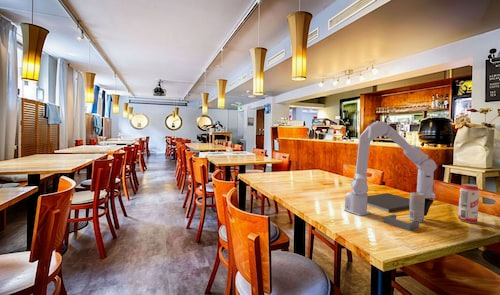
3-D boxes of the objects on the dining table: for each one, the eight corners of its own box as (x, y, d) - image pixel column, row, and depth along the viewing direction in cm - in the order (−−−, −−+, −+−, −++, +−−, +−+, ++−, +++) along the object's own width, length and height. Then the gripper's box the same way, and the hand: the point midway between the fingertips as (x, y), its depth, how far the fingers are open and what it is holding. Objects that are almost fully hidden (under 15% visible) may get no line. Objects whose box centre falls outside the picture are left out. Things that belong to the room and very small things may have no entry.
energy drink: (420, 219, 108) (422, 192, 108) (425, 223, 103) (427, 195, 103) (407, 217, 110) (408, 191, 109) (411, 222, 105) (412, 194, 104)
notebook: (388, 213, 117) (424, 206, 129) (388, 208, 117) (425, 202, 129) (353, 201, 137) (387, 196, 149) (353, 197, 137) (387, 192, 148)
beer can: (454, 219, 108) (456, 183, 107) (463, 218, 110) (465, 182, 109) (471, 224, 102) (474, 186, 101) (480, 222, 104) (483, 185, 103)
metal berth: (384, 222, 104) (384, 216, 104) (393, 219, 107) (393, 214, 107) (409, 231, 95) (410, 224, 95) (419, 227, 98) (419, 221, 98)
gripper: (426, 188, 102) (424, 220, 102) (443, 185, 108) (441, 215, 109) (408, 185, 108) (407, 215, 108) (425, 182, 115) (424, 210, 115)
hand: (423, 215), depth 109 cm, fingers closed
